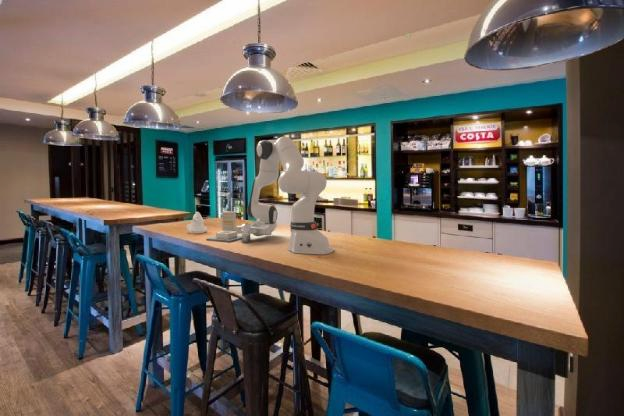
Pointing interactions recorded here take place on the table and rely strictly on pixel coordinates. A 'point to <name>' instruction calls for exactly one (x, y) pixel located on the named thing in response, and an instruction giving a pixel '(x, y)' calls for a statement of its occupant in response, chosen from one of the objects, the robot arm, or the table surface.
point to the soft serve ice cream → (196, 224)
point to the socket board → (225, 236)
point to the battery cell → (245, 233)
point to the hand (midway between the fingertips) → (245, 231)
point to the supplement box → (229, 221)
